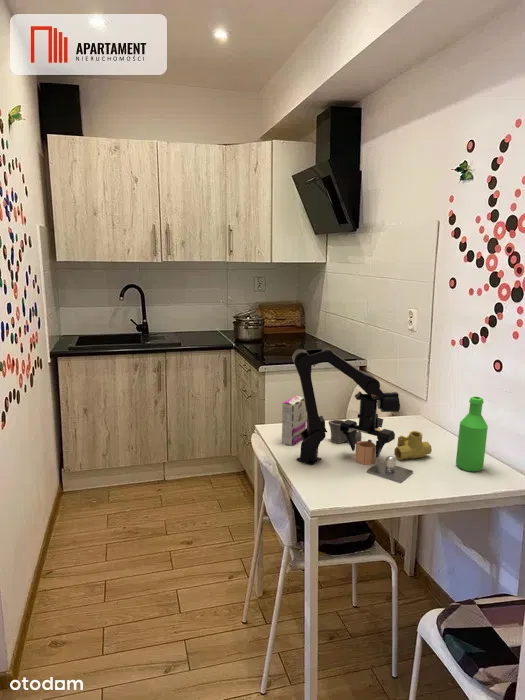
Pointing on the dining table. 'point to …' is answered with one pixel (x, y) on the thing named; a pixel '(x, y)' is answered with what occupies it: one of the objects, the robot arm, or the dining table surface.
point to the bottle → (472, 438)
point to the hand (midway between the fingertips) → (365, 454)
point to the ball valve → (412, 446)
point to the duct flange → (390, 470)
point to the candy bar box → (293, 420)
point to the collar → (365, 452)
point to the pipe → (340, 432)
